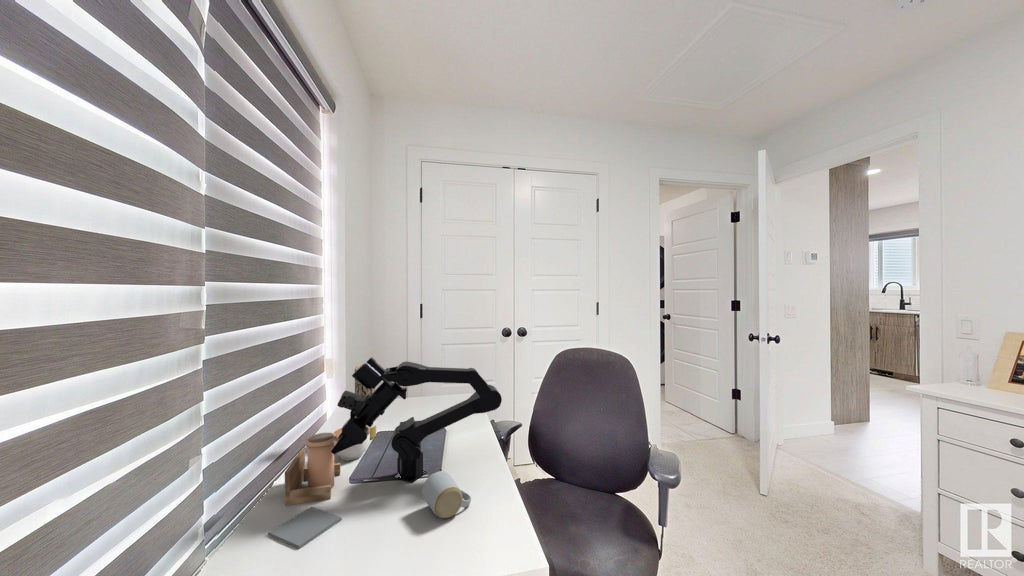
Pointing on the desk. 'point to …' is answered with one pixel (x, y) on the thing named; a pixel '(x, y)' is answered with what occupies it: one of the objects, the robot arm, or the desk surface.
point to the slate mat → (304, 527)
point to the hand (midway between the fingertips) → (336, 445)
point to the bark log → (364, 392)
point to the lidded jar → (352, 451)
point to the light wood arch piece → (296, 477)
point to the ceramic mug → (444, 495)
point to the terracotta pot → (320, 459)
